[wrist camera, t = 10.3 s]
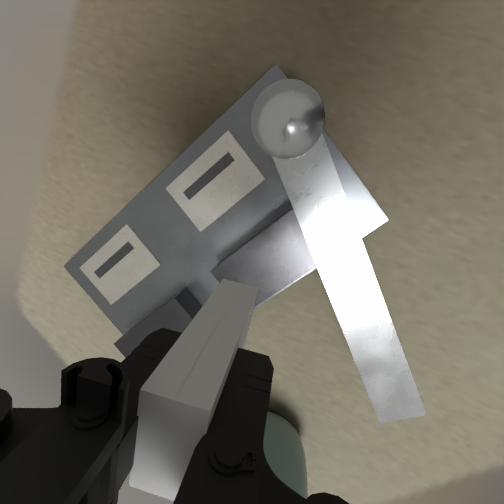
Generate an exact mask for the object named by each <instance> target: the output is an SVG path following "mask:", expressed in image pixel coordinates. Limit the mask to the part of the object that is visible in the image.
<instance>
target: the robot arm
mask: <svg viewBox="0 0 504 504" xmlns="http://www.w3.org/2000/svg"><path fill="white" fill-rule="evenodd" d="M257 291H258V287H254V286H250V285H246V284H242V283H238V282H235V281H231V280H227V279H223V280H222V281H221V283H220V284H219V285H218V287H217V288H216V289H215V291H214V292H213V293H212V295H211V296H210V297H209V299H208V300H207V301H206V303H205V304H204V305H203V306H202V308H201V309H200V310H199V312H198V313H197V314H196V316H195V317H194V318H193V320H192V321H191V322H190V324H189V325H188V326H187V328H186V329H185V330H184V332H183V333H181V332H177V331H174V330H170V329H166V328H161V329H158V330H156V331H154V332H152V333H150V334H148V335H147V336H146V337H145V339H144V340H143V341H142V342H141V343H140V344H139V346H137V347H136V348H135V349H134V350H133V351H132V352H131V354H130V355H128V356H127V357H126V358H125V359H124V360H123V361H122V362H119V361H117V360H115V359H109V358H102V357H100V358H90V359H85V360H82V361H79V362H76V363H73V364H71V365H70V366H68V367H67V368H65V369H63V370H62V373H61V374H62V375H61V377H62V378H61V405H60V406H59V407H57V408H12V398H11V396H10V395H9V393H8V392H7V391H5V390H3V389H0V504H117V502H118V491H119V489H120V488H121V486H122V484H123V482H124V481H125V479H126V477H127V475H128V474H129V472H130V470H131V473H130V482H129V486H132V487H135V488H138V489H140V490H143V491H146V492H149V493H152V494H155V495H158V496H161V497H163V498H166V499H169V500H172V501H174V503H173V504H349V503H347V502H346V501H344V500H343V499H342V498H340V497H339V496H335V495H332V494H328V493H325V492H323V493H317V494H312V495H310V496H309V497H308V498H307V499H305V498H304V497H302V496H301V495H299V494H298V493H297V492H295V491H294V490H292V489H291V488H290V487H288V486H287V485H286V484H285V483H283V482H282V481H281V480H280V479H279V478H278V477H277V476H276V475H275V473H274V472H273V471H272V469H271V468H270V466H269V464H268V462H267V460H266V457H265V453H264V449H263V440H264V433H265V426H266V419H267V412H268V405H269V398H270V391H271V383H272V377H273V370H274V368H273V366H272V363H271V360H270V358H269V356H266V355H263V354H259V353H256V352H252V351H249V350H245V349H244V346H245V343H246V339H247V335H248V330H249V326H250V321H251V317H252V313H253V308H254V304H255V300H256V295H257Z"/></svg>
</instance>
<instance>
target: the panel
mask: <svg viewBox="0 0 504 504" xmlns="http://www.w3.org/2000/svg"><path fill="white" fill-rule="evenodd" d="M283 79H288V78H287V77H286V76H285V74H284V73H283V71H282V70H281V69H280V67H279V66H278V64H277V63H276V64H275V65H274V66H273V67H272V68H271V69H270V70H269V71H268V72H267V73H266V74H265V75H263V76H262V77H261V78H260V79H259V80H258V81H257V82H256V83H255V84H254V85H253V86H252V87H251V88H250V89H249V90H248V91H247V92H246V93H245V94H244V95H242V96H241V97H240V98H239V99H238V100H237V101H236V102H235V103H234V104H233V105H232V106H231V107H230V108H229V109H228V110H227V111H226V112H225V113H224V114H223V115H221V116H220V117H219V118H218V119H217V120H216V121H215V122H214V123H213V124H212V125H211V126H210V127H209V128H208V129H207V130H206V131H205V132H204V133H203V134H202V135H201V136H199V137H198V138H197V139H196V140H195V141H194V142H193V143H192V144H191V145H190V146H189V147H188V148H187V149H186V150H185V151H184V152H183V153H182V154H181V155H180V156H178V157H177V158H176V159H175V160H174V161H173V162H172V163H171V164H170V165H169V166H168V167H167V168H166V169H165V170H164V171H163V172H162V173H161V174H160V175H159V176H157V177H156V178H155V179H154V180H153V181H152V182H151V183H150V184H149V185H148V186H147V187H146V188H145V189H144V190H143V191H142V192H141V193H140V194H139V195H138V196H136V197H135V198H134V199H133V200H132V201H131V202H130V203H129V204H128V205H127V206H126V207H125V208H124V209H123V210H122V211H121V212H120V213H119V214H118V215H117V216H116V217H114V218H113V219H112V220H111V221H110V222H109V223H108V224H107V225H106V226H105V227H104V228H103V229H102V230H101V231H100V232H99V233H98V234H97V235H96V236H95V237H93V238H92V239H91V240H90V241H89V242H88V243H87V244H86V245H85V246H84V247H83V248H82V249H81V250H80V251H79V252H78V253H77V254H76V255H75V256H74V257H72V258H71V259H70V260H69V261H68V262H67V263H66V264H65V265H64V267H65V269H66V270H67V271H68V272H69V273H70V274H71V276H72V277H73V278H74V279H75V280H76V281H77V282H78V284H79V285H80V286H81V287H82V288H83V289H84V290H85V292H86V293H87V294H88V295H89V296H90V297H91V299H92V300H93V301H94V302H95V303H96V304H97V305H98V307H99V308H100V309H101V310H102V311H103V312H104V314H105V315H106V316H107V317H108V318H109V319H110V320H111V322H112V323H113V324H114V325H115V326H116V327H117V328H118V330H119V331H120V332H121V333H122V334H123V336H122V337H121V338H120V339H119V340H117V341H116V342H115V343H114V345H115V346H116V347H117V348H118V350H119V351H120V352H121V353H122V354H123V355H124V356H125V357H127V356H128V355H130V354H131V352H132V351H133V350H134V349H135V348H136V347H137V346H139V344H140V343H141V342H142V341H143V340H144V339H145V337H146V336H147V335H148V334H150V333H152V332H154V331H156V330H158V329H161V328H166V329H170V330H174V331H177V332H181V333H183V332H184V330H185V329H186V328H187V326H188V325H189V324H190V322H191V321H192V320H193V318H194V317H195V316H196V314H197V313H198V312H199V310H200V309H201V308H202V306H203V305H204V304H205V303H206V301H207V300H208V299H209V297H210V296H211V295H212V293H213V292H214V291H215V289H216V288H217V287H218V285H219V284H220V283H221V281H222V280H223V279H227V280H231V281H235V282H238V283H242V284H246V285H250V286H254V287H258V291H257V295H256V300H255V304H254V308H253V309H255V308H257V307H258V306H260V305H261V304H263V303H264V302H266V301H267V300H269V299H270V298H272V297H273V296H275V295H276V294H278V293H279V292H281V291H282V290H284V289H285V288H287V287H288V286H290V285H291V284H293V283H294V282H296V281H297V280H299V279H300V278H302V277H303V276H305V275H306V274H308V273H310V272H311V271H313V270H314V269H316V268H317V266H316V264H315V261H314V259H313V256H312V254H311V252H310V249H309V247H308V244H307V242H306V239H305V237H304V234H303V232H302V229H301V227H300V224H299V222H298V219H297V217H296V215H295V212H294V210H293V207H292V205H291V202H290V200H289V197H288V195H287V192H286V190H285V187H284V185H283V182H282V180H281V177H280V175H279V173H278V170H277V168H276V165H275V163H274V160H273V158H272V156H271V155H269V154H268V153H266V152H265V151H264V150H263V149H262V148H261V147H260V146H259V145H258V143H257V142H256V140H255V138H254V136H253V133H252V129H251V113H252V109H253V106H254V103H255V101H256V99H257V98H258V96H259V95H260V93H261V92H262V91H263V90H264V89H265V88H266V87H268V86H269V85H271V84H272V83H274V82H276V81H279V80H283ZM322 133H323V136H324V139H325V141H326V144H327V147H328V149H329V152H330V155H331V158H332V160H333V163H334V166H335V168H336V171H337V174H338V176H339V179H340V182H341V185H342V187H343V190H344V193H345V195H346V198H347V201H348V204H349V206H350V209H351V212H352V214H353V217H354V220H355V223H356V225H357V228H358V231H359V233H360V236H361V238H363V237H364V236H366V235H367V234H369V233H370V232H372V231H373V230H375V229H376V228H378V227H379V226H381V225H382V224H384V223H385V222H387V221H388V218H387V217H386V215H385V214H384V213H383V211H382V210H381V208H380V207H379V206H378V204H377V203H376V201H375V200H374V199H373V197H372V196H371V194H370V193H369V192H368V190H367V189H366V187H365V186H364V185H363V183H362V182H361V180H360V179H359V178H358V176H357V175H356V173H355V172H354V171H353V169H352V168H351V166H350V165H349V164H348V162H347V161H346V159H345V158H344V157H343V155H342V154H341V152H340V151H339V150H338V148H337V147H336V145H335V144H334V143H333V141H332V140H331V139H330V137H329V136H328V134H327V133H326V132H325V130H324V129H323V130H322Z"/></svg>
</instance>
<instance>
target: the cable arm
mask: <svg viewBox="0 0 504 504" xmlns="http://www.w3.org/2000/svg"><path fill="white" fill-rule="evenodd" d="M324 121H325V111H324V106H323V102H322V100H321V98H320V96H319V94H318V93H317V92H316V90H315V89H314V88H313V87H311V86H310V85H309V84H307V83H305V82H303V81H301V80H297V79H283V80H279V81H276V82H274V83H272V84H271V85H269V86H268V87H266V88H265V89H264V90H263V91H262V92H261V93H260V95H259V96H258V98H257V99H256V101H255V103H254V106H253V109H252V113H251V129H252V133H253V136H254V138H255V140H256V142H257V143H258V145H259V146H260V147H261V148H262V149H263V150H264V151H265V152H266V153H268V154H269V155H271V156H272V158H273V160H274V163H275V165H276V168H277V170H278V173H279V175H280V177H281V180H282V182H283V185H284V187H285V190H286V192H287V195H288V197H289V200H290V202H291V205H292V207H293V210H294V212H295V215H296V217H297V219H298V222H299V224H300V227H301V229H302V232H303V234H304V237H305V239H306V242H307V244H308V247H309V249H310V252H311V254H312V256H313V259H314V261H315V264H316V266H317V269H318V271H319V274H320V276H321V279H322V281H323V284H324V286H325V289H326V291H327V294H328V296H329V298H330V301H331V303H332V306H333V308H334V311H335V313H336V316H337V318H338V321H339V323H340V326H341V328H342V331H343V333H344V335H345V338H346V340H347V343H348V345H349V348H350V350H351V353H352V355H353V358H354V360H355V363H356V365H357V368H358V370H359V372H360V375H361V377H362V380H363V382H364V385H365V387H366V390H367V392H368V395H369V397H370V400H371V402H372V405H373V407H374V410H375V412H376V414H377V417H378V419H379V422H380V424H382V423H387V422H392V421H397V420H402V419H407V418H413V417H418V416H423V415H426V412H425V409H424V407H423V404H422V401H421V398H420V396H419V393H418V390H417V388H416V385H415V382H414V379H413V377H412V374H411V371H410V369H409V366H408V363H407V361H406V358H405V355H404V352H403V350H402V347H401V344H400V342H399V339H398V336H397V333H396V331H395V328H394V325H393V323H392V320H391V317H390V315H389V312H388V309H387V306H386V304H385V301H384V298H383V296H382V293H381V290H380V287H379V285H378V282H377V279H376V277H375V274H374V271H373V269H372V266H371V263H370V260H369V258H368V255H367V252H366V250H365V247H364V244H363V241H362V239H361V236H360V233H359V231H358V228H357V225H356V223H355V220H354V217H353V214H352V212H351V209H350V206H349V204H348V201H347V198H346V195H345V193H344V190H343V187H342V185H341V182H340V179H339V176H338V174H337V171H336V168H335V166H334V163H333V160H332V158H331V155H330V152H329V149H328V147H327V144H326V141H325V139H324V136H323V133H322V130H323V127H324Z"/></svg>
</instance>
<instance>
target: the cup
mask: <svg viewBox="0 0 504 504" xmlns="http://www.w3.org/2000/svg"><path fill="white" fill-rule="evenodd" d="M263 449H264V453H265V457H266V460H267V462H268V464H269V466H270V468H271V469H272V471H273V472H274V473H275V475H276V476H277V477H278V478H279V479H280V480H281V481H282V482H283V483H285V484H286V485H287V486H288V487H290V488H291V489H292V490H294V491H295V492H297V493H298V494H299V495H301V496H302V497H304V498H305V499H307V498H308V485H307V470H306V459H305V453H304V448H303V444H302V442H301V439H300V436H299V434H298V433H297V431H296V430H295V428H294V427H293V426H292V425H291V424H290V422H288V421H287V420H286V419H284V418H283V417H281V416H280V415H278V414H275V413H273V412H267V419H266V426H265V433H264V440H263Z"/></svg>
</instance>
